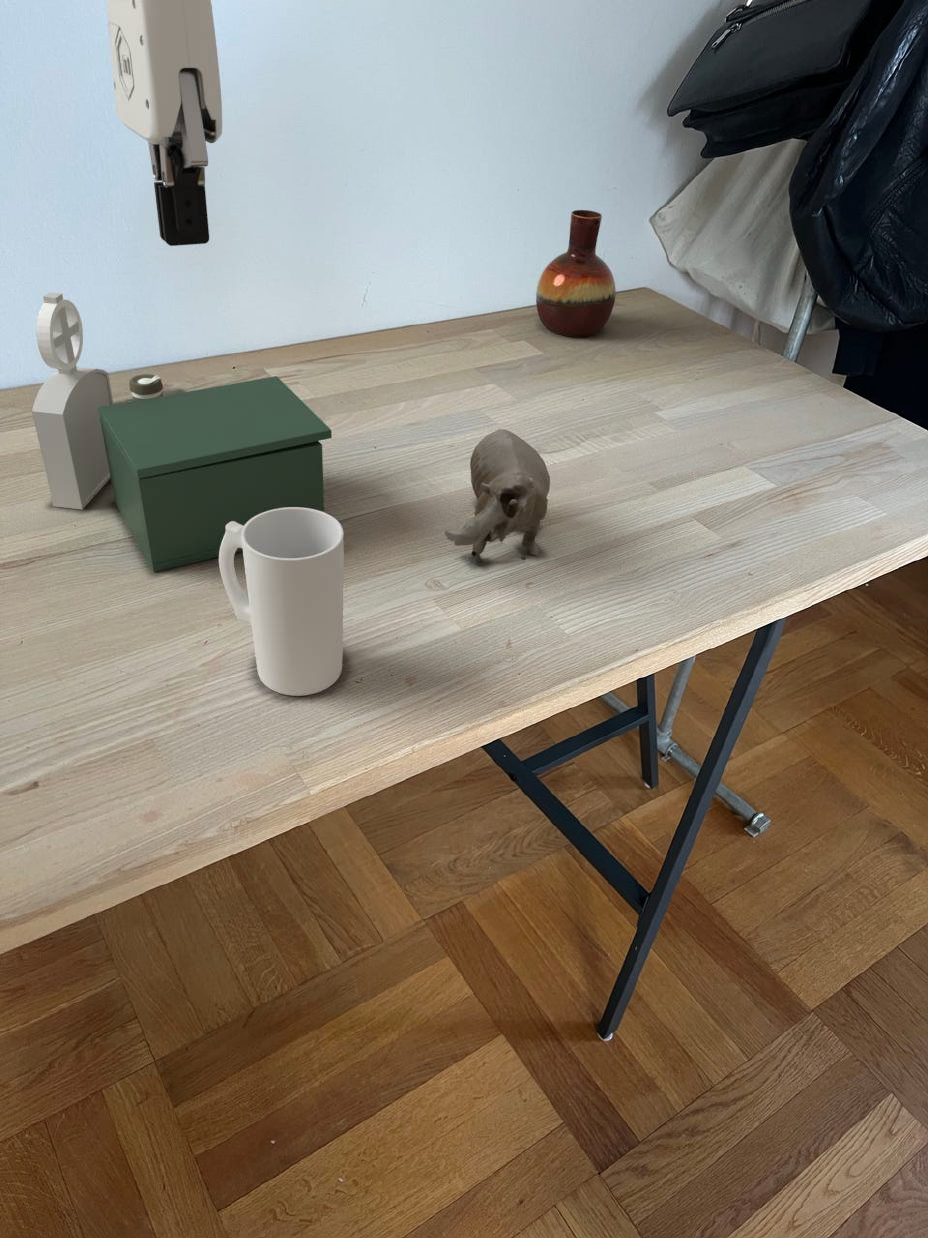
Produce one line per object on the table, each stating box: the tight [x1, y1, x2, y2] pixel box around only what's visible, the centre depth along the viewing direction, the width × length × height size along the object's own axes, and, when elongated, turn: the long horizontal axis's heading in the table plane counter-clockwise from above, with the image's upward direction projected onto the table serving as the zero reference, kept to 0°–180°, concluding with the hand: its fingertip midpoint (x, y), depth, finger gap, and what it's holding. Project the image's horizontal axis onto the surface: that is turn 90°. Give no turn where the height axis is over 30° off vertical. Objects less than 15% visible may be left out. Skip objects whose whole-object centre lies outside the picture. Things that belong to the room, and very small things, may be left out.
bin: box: [100, 417, 325, 573], centre depth 83 cm, size 16×13×9 cm
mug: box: [218, 507, 345, 697], centre depth 66 cm, size 10×7×12 cm, turn 62°
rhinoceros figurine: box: [444, 428, 551, 567], centre depth 83 cm, size 8×14×15 cm
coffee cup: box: [128, 373, 164, 401], centre depth 99 cm, size 12×12×5 cm
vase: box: [535, 209, 617, 338], centre depth 128 cm, size 11×11×15 cm
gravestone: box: [31, 291, 115, 511], centre depth 84 cm, size 3×9×18 cm, turn 174°
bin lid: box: [98, 375, 333, 479], centre depth 80 cm, size 16×13×1 cm
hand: (185, 241), depth 69 cm, fingers closed
